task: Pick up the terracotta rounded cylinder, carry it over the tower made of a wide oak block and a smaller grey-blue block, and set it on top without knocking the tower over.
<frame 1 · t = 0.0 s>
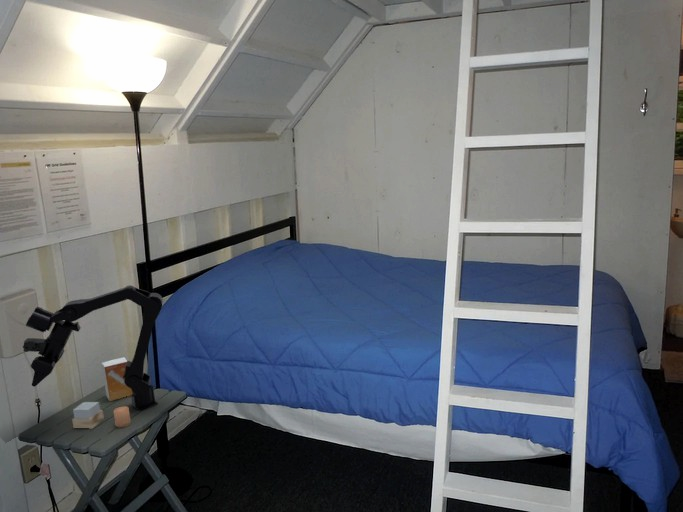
hand: (36, 380, 178), 15 cm above the table, tool tilted 35°, fingers open, 9 cm apart
oak base block: (89, 424, 178), on the table, touching grey-blue top block
terracotta rounded cylinder: (123, 424, 176), on the table
small box: (119, 396, 199), on the table
grey-blue top block: (87, 414, 177), point 3 cm above the table, touching oak base block
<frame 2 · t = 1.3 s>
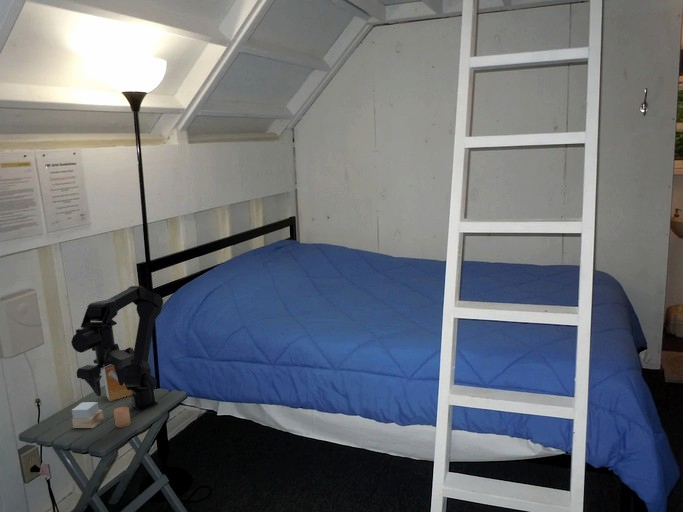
hand: (110, 390, 173), 12 cm above the table, tool pointing down, fingers open, 9 cm apart
oak base block: (89, 424, 178), on the table
grey-blue top block: (86, 414, 177), point 3 cm above the table
everything else where it was.
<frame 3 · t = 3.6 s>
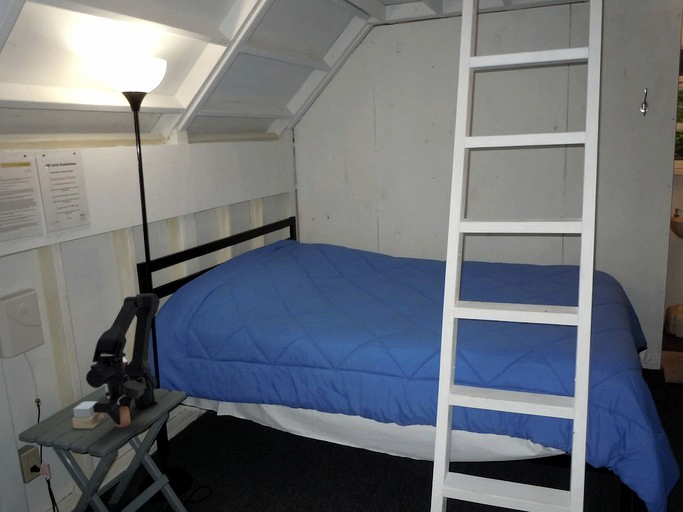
hand: (122, 420, 175), 1 cm above the table, tool pointing down, fingers closed on terracotta rounded cylinder, 4 cm apart
oak base block: (89, 424, 178), on the table, touching grey-blue top block
terracotta rounded cylinder: (123, 424, 176), on the table, touching gripper
grey-blue top block: (87, 413, 177), point 3 cm above the table, touching oak base block
everything else where it was.
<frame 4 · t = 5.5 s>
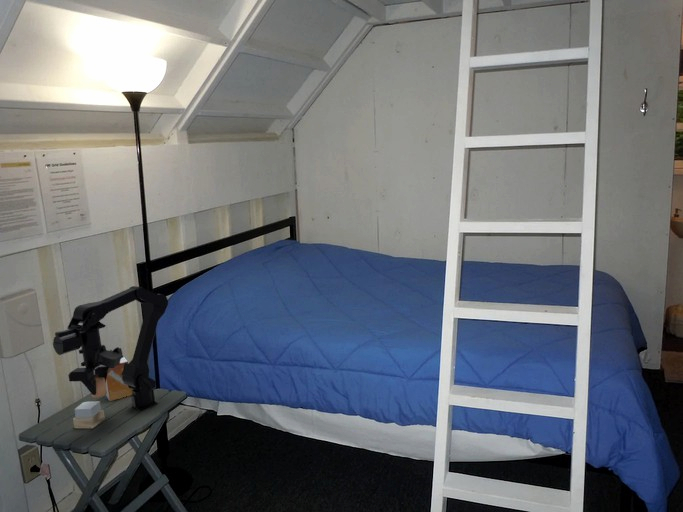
hand: (98, 391, 175), 11 cm above the table, tool pointing down, fingers closed on terracotta rounded cylinder, 4 cm apart
terracotta rounded cylinder: (99, 394, 175), point 10 cm above the table, touching gripper
everything else where it was.
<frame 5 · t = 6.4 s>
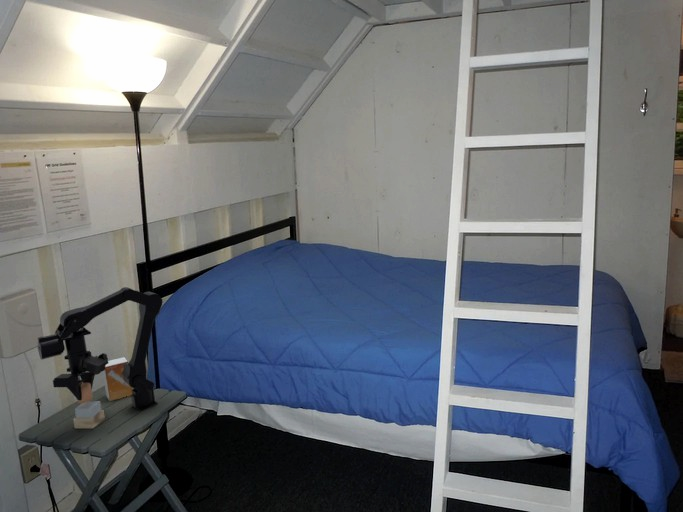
hand: (84, 396, 176), 9 cm above the table, tool pointing down, fingers closed on terracotta rounded cylinder, 4 cm apart
oak base block: (90, 424, 178), on the table
terracotta rounded cylinder: (85, 399, 176), point 8 cm above the table, touching gripper
grey-blue top block: (89, 413, 178), point 3 cm above the table
everything else where it was.
when the fingers open (9 cm above the table, at t = 7.0 s): terracotta rounded cylinder drops 2 cm, point 6 cm above the table.
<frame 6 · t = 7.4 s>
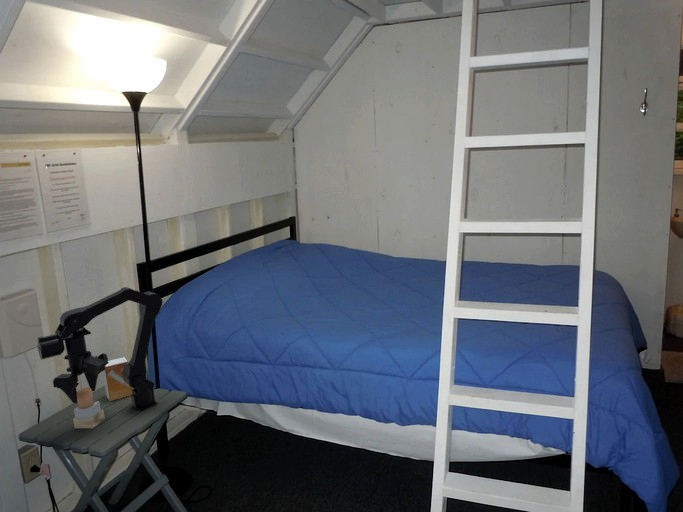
hand: (84, 396, 176), 9 cm above the table, tool pointing down, fingers open, 9 cm apart
terracotta rounded cylinder: (86, 405, 177), point 6 cm above the table
everything else where it was.
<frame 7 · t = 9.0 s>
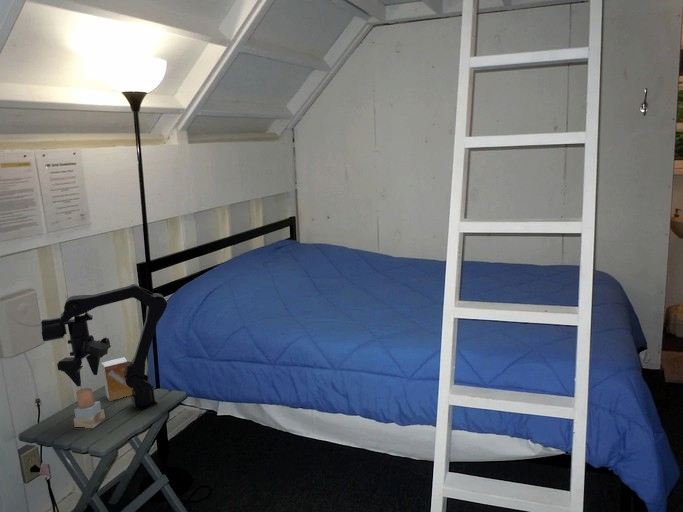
hand: (87, 380, 180), 13 cm above the table, tool pointing down, fingers open, 9 cm apart
oak base block: (90, 424, 178), on the table, touching grey-blue top block
terracotta rounded cylinder: (86, 405, 177), point 6 cm above the table, touching grey-blue top block
grey-blue top block: (88, 413, 178), point 3 cm above the table, touching oak base block, terracotta rounded cylinder
everything else where it was.
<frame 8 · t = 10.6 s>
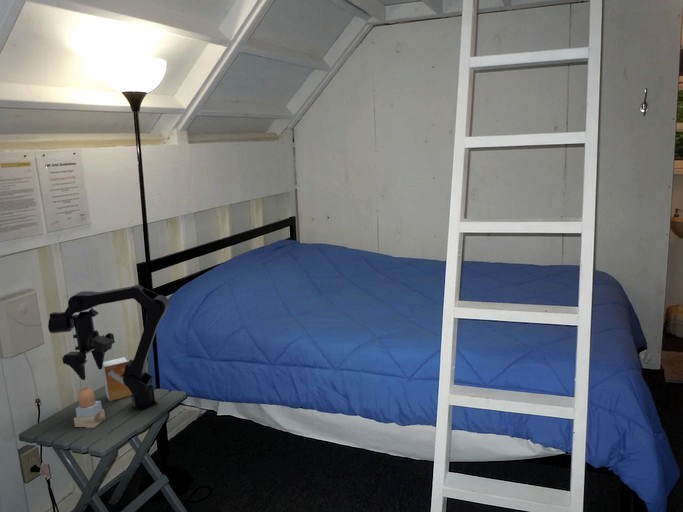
hand: (92, 374, 185), 13 cm above the table, tool pointing down, fingers open, 9 cm apart
nothing on the table moved.
at the end: terracotta rounded cylinder 0.1 cm off-centre on the grey-blue top block, point 3.0 cm above the grey-blue top block's base; grey-blue top block tilted 0°; oak base block moved 0.6 cm from its start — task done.
